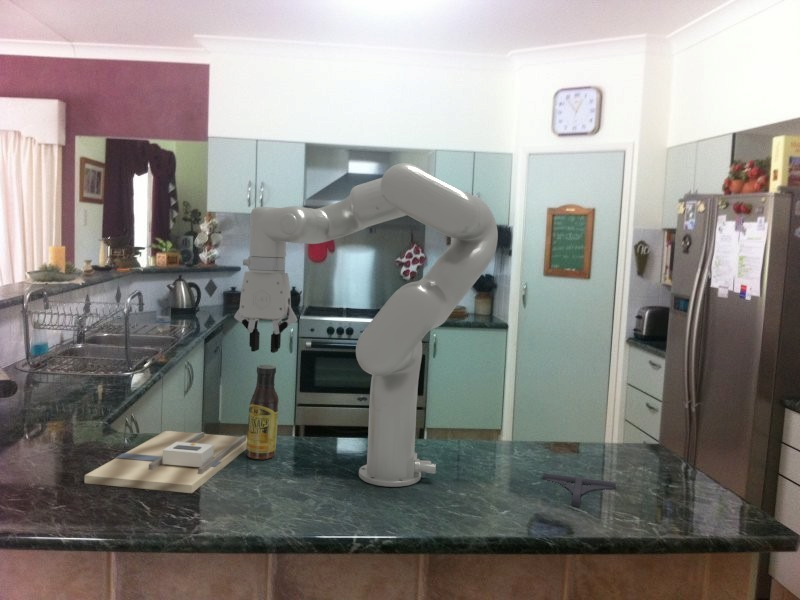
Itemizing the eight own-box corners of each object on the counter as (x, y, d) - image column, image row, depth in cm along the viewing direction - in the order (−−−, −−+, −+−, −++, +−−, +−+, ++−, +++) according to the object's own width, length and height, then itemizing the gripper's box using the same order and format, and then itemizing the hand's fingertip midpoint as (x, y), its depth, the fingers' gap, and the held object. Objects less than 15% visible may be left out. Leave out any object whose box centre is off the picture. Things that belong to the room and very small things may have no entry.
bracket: (535, 504, 127) (536, 490, 126) (543, 479, 141) (544, 466, 140) (616, 517, 122) (617, 502, 122) (615, 490, 136) (616, 476, 136)
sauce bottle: (240, 458, 144) (243, 366, 143) (257, 450, 150) (259, 362, 148) (266, 463, 142) (269, 369, 140) (282, 455, 147) (285, 365, 146)
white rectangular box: (176, 454, 138) (176, 440, 138) (213, 458, 137) (214, 444, 137) (162, 463, 132) (162, 449, 132) (201, 467, 131) (201, 452, 131)
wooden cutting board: (252, 444, 154) (252, 433, 154) (191, 493, 123) (191, 479, 122) (165, 437, 157) (165, 426, 157) (84, 483, 125) (84, 470, 125)
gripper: (222, 264, 140) (220, 351, 141) (300, 268, 138) (297, 356, 139) (236, 263, 147) (234, 346, 149) (309, 267, 145) (307, 351, 147)
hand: (264, 350), depth 144 cm, fingers open, 3 cm apart
